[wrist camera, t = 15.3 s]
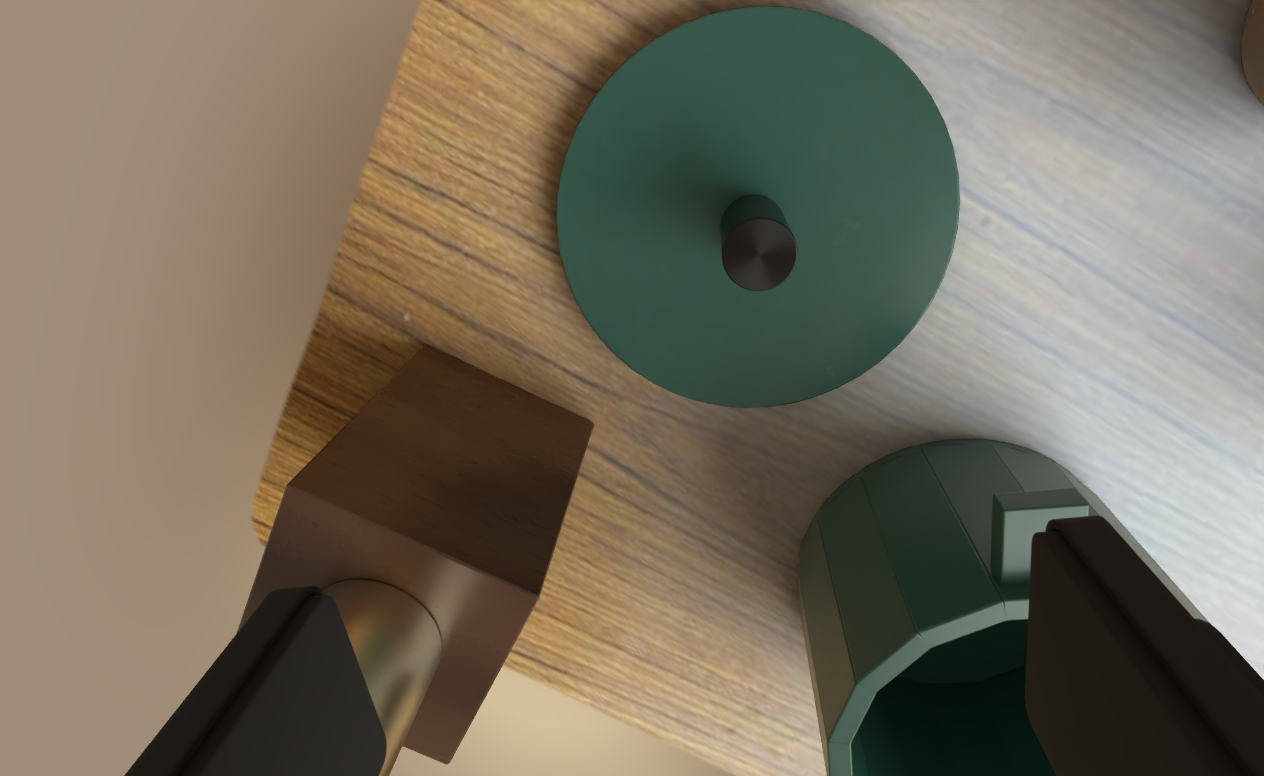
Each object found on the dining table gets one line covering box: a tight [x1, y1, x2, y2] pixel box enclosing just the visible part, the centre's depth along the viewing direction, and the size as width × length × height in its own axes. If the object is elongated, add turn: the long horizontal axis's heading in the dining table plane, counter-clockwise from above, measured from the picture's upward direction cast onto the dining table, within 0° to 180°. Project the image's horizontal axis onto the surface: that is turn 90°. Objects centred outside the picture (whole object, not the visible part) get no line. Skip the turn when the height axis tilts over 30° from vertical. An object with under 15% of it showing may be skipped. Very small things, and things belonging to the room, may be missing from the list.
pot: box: [797, 439, 1208, 776], centre depth 31 cm, size 14×19×10 cm
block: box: [237, 345, 594, 764], centre depth 30 cm, size 8×8×12 cm
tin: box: [322, 579, 442, 776], centre depth 21 cm, size 4×4×6 cm
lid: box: [557, 6, 960, 408], centre depth 27 cm, size 15×15×6 cm
